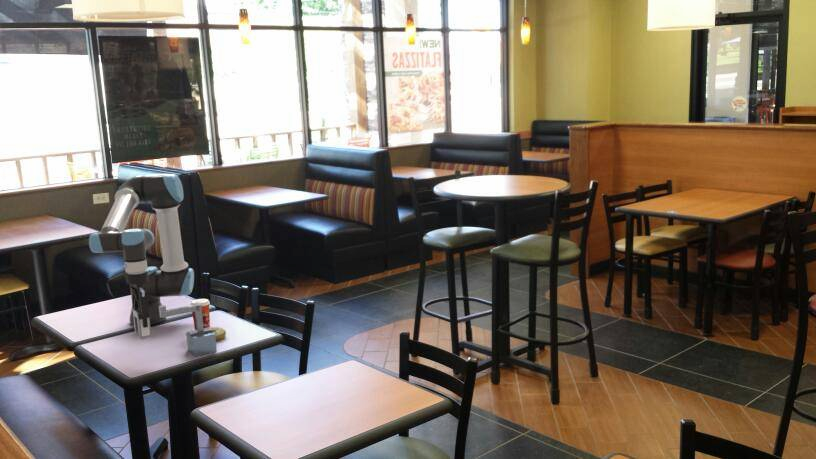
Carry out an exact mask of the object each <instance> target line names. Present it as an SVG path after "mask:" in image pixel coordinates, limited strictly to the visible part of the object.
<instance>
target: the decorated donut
mask: <svg viewBox="0 0 816 459" xmlns="http://www.w3.org/2000/svg"><path fill="white" fill-rule="evenodd" d="M210 328H211V329H213V333H214V334H215V337H216V342H217V341H221V340H222V339H224V338H225V337H226V335H227V332H226V329H224V328H223V327H221V326H219V327H218V326H212V327H211V326H210Z"/></svg>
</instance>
